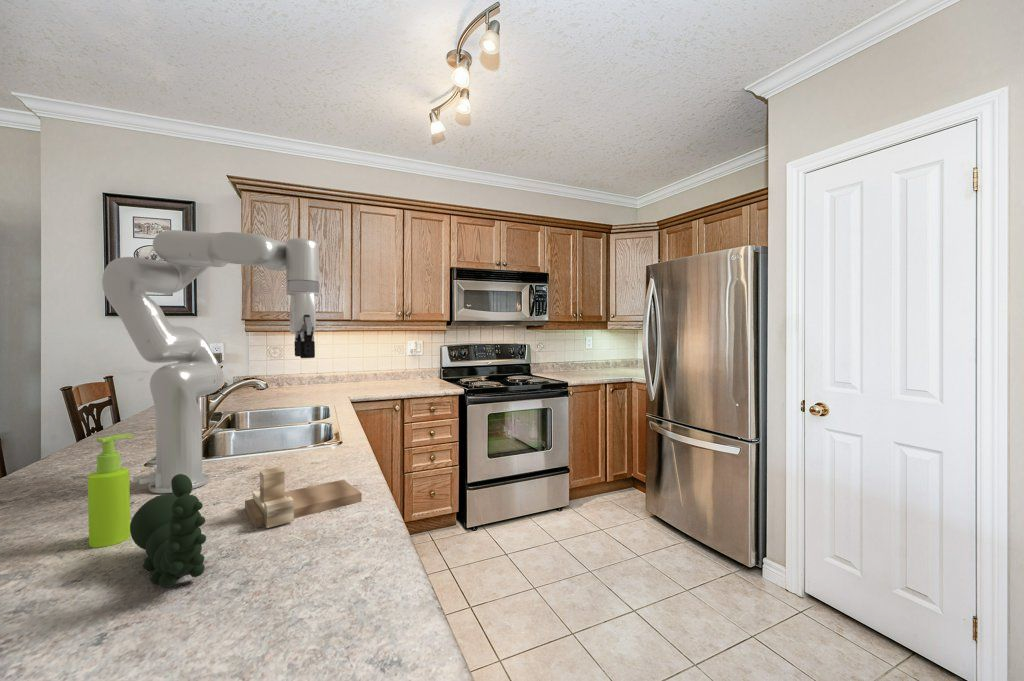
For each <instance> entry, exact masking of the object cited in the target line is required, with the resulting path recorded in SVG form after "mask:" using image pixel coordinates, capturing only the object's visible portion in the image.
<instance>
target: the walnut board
mask: <svg viewBox="0 0 1024 681" xmlns="http://www.w3.org/2000/svg"><path fill="white" fill-rule="evenodd" d="M362 495H363V494H362V492H361V491H360V490H358V489H357V488H356V487H354V486H353V485H352V484H351V483H349V482H347V481H346V480H345V479H339V480H335V481H331V482H326V483H321V484H316V485H311V486H306V487H302V488H298V489H294V490H288V491H285V496H286V497H290V496H291V497H292V499H293V500H294V519H296V518H301V517H305V516H309V515H313V514H317V513H321V512H325V511H328V510H332V509H335V508H337V509H338V508H340V507H345V506H348V504H349V505H352V503H353V504H356V503H360V502H363V501H362V498H363V497H362ZM244 511H245V512H246V514H247V515H248V517H249V519H250V521H251V522H252V524H253V526H254V527H255V529H257V528H261V527H266V526H265V524H264V514H263V513H262V511H261V510H260V508H259V507H258V505H257V504H256V502H255V501H254V499H253V498H251V499H245V500H244Z"/></svg>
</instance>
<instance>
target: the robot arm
mask: <svg viewBox="0 0 1024 681" xmlns="http://www.w3.org/2000/svg"><path fill="white" fill-rule="evenodd" d="M152 249H153V251H154V252H155V254H156V255H157V256H158V258H161V259H162V260H163V261H159V260H155V259H150V258H149V259H148V258H144V257H138V256H137V257H136V256H123V257H118V258H115V259H113V260H111V261H110V262H109V263H108V264H107V265H106V267H105V269H104V271H103V273H102V278H101V284H102V290H103V293H104V296H105V298H106V300H107V301H108V303H109V304H110V305H111V307H112V308H113V309H114V311H115V312H116V314H117V315H118V317H119V318H120V320H121V322H122V323H123V325H124V328H125V329H126V331H127V333H128V335H129V337H130V338H131V340H132V342H133V344H134V346H135V348H136V350H137V351H138V353H139V354H140V356H141V357H142V358H143V360H145V361H146V362H149V363H152V364H165V363H169V364H165V365H163V366H161V367H159V368H157V369H156V370H155V371H154V372H153V374H151V377H150V380H149V389H150V393H151V396H152V397H151V398H152V400H153V406H154V412H155V413H154V414H155V416H154V417H155V455H156V456H155V459H156V460H155V462H156V464H155V465H156V468H154V471H152V472H149V473H148V474H144V475H143V474H141V475H134V476H132V485H138V484H139V486H142V485H147V484H149V485H148V491H149V492H151V493H153V494H174V493H173V492H172V486H171V480H172V478H173V477H174V476H176V475H178V474H184V475H186V476H188V477H189V478H190V480H191V482H192V486H193V487H192V490H194V489H196V488H197V489H198V488H199V487H202V486H204V485H206V484H207V483H209V481H210V479H211V477H210V474H208V473H206V472H205V473H204V472H203V421H202V420H203V419H202V418H203V416H202V411H201V407H200V405H199V404H198V402H197V399H196V398H198V397H203V396H206V395H211V394H214V393H216V392H218V390H220V388H221V387H222V386H223V384H224V383H223V382H224V374H223V370H222V368H221V366H220V364H219V362H218V360H217V358H216V356H215V354H214V353H213V351H212V349H211V347H210V345H209V343H208V341H207V340H206V338H205V336H204V335H202V333H200V332H199V330H196V329H195V328H193V327H189V326H182V325H181V326H180V325H179V326H176V325H172V324H171V323H170V322H169V320H168V318H167V317H166V315H165V314H164V311H163V310H162V308H161V306H159V304H157V302H156V301H155V300H153V299H152V298H151V297H149V295H147V293H157V294H164V295H167V294H169V295H170V294H174V293H175V294H176V293H177V292H180V291H182V290H183V289H185V288H186V287H187V286H189V285H190V284H191V283H192V282H194V280H195V279H196V278H198V277H199V276H201V274H203V273H204V272H205V271H206V270H207V269H209V268H210V267H212V268H223V267H226V265H228V264H231V265H244V266H254V267H258V268H259V267H260V268H263V269H268V270H271V271H277V272H284V271H285V278H286V279H285V281H286V282H285V284H286V285H285V288H286V289H285V290H286V295H287V296H290V302H289V303H290V304H289V332H290V334H292V335H294V343H293V344H294V356H295V357H300V359H314V358H316V345H315V344H316V342H315V336H314V334H315V332H316V330H317V329H316V328H317V313H316V312H317V311H316V309H317V308H316V297H317V296H320V263H319V262H320V259H319V258H320V254H319V252H320V250H319V245H318V243H317V242H316V241H315V240H312V239H308V238H290V239H287V241H286V242H284V241H281V240H277V239H274V238H272V237H269V236H265V235H262V234H259V233H258V234H257V233H251V232H250V233H249V232H236V231H235V232H234V231H222V232H202V231H193V230H180V229H178V230H176V229H174V230H173V229H170V230H169V229H167V230H164V231H161V232H159V233H158V234H156V235H155V237H154V238H153V240H152ZM146 292H147V293H146Z"/></svg>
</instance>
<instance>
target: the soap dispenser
mask: <svg viewBox="0 0 1024 681" xmlns="http://www.w3.org/2000/svg"><path fill="white" fill-rule="evenodd" d="M135 436H136V434H131V433H116V434H111V435H106V436H102V437H99V438H96V443H101V444H102V452H101V453H100V454H98V455H96V471H94V472H92V473H90V474H88V475H87V499H88V500H87V503H88V504H87V507H88V545H89V546H88V547H90V548H94V549H96V548H98V549H99V548H107V547H110V546H114V545H116V544H117V545H118V544H120V543H122V542H125V541H127V540H128V539H129V538H131V533H130V523H131V496H130V495H131V489H130V488H131V487H130V481H131V480H130V478H131V477H130V468H127V467H122V464H121V463H122V461H121V460H122V458H121V452H120V451H117V450H115V448H116V447H115V446H116V445H115V442H116V441H115V440H121V439H126V438H134V437H135Z"/></svg>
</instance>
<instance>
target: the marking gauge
mask: <svg viewBox="0 0 1024 681" xmlns="http://www.w3.org/2000/svg"><path fill="white" fill-rule="evenodd" d="M285 480H286V478H285V470H284V469H283V468H282V467H281V466H277V467H271V468H267V469H261V470H260V469H259V489H258V490H254V491H252V499H254V501H255V502H256V504H257V505H258V507H259V508H260V510H261V511H262V513H263V514H264V524H265V526H264V527H266V528H267V529H268V528H272V527H276V526H280V525H284V524H288V523H292V522H294V521H295V520H294V519H295V518H294V500H293V499H292V497H291V496H290V497H286V496H285V492H286V491H285V484H286V483H285Z"/></svg>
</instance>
